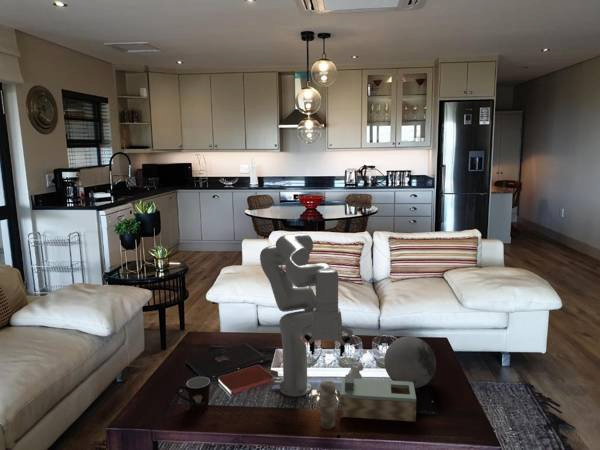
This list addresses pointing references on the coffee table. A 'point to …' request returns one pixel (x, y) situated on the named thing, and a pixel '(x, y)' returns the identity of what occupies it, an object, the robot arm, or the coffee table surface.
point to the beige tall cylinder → (327, 404)
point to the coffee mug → (197, 392)
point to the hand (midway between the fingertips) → (327, 354)
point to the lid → (375, 389)
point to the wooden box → (379, 408)
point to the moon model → (410, 361)
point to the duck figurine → (356, 370)
